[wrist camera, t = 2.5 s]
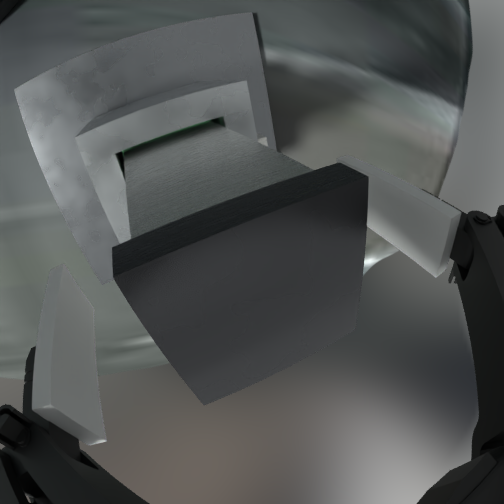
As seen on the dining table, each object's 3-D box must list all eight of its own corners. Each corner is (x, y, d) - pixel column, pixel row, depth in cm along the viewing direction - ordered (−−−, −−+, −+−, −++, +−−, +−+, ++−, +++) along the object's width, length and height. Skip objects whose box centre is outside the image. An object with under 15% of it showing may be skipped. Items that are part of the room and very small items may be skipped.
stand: (18, 89, 16) (-40, 97, 8) (247, 14, 21) (316, -12, 12) (102, 278, 29) (106, 357, 21) (280, 205, 34) (338, 255, 26)
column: (117, 129, 22) (113, 277, 5) (187, 104, 23) (368, 176, 7) (139, 193, 25) (204, 405, 9) (203, 168, 27) (355, 329, 11)
